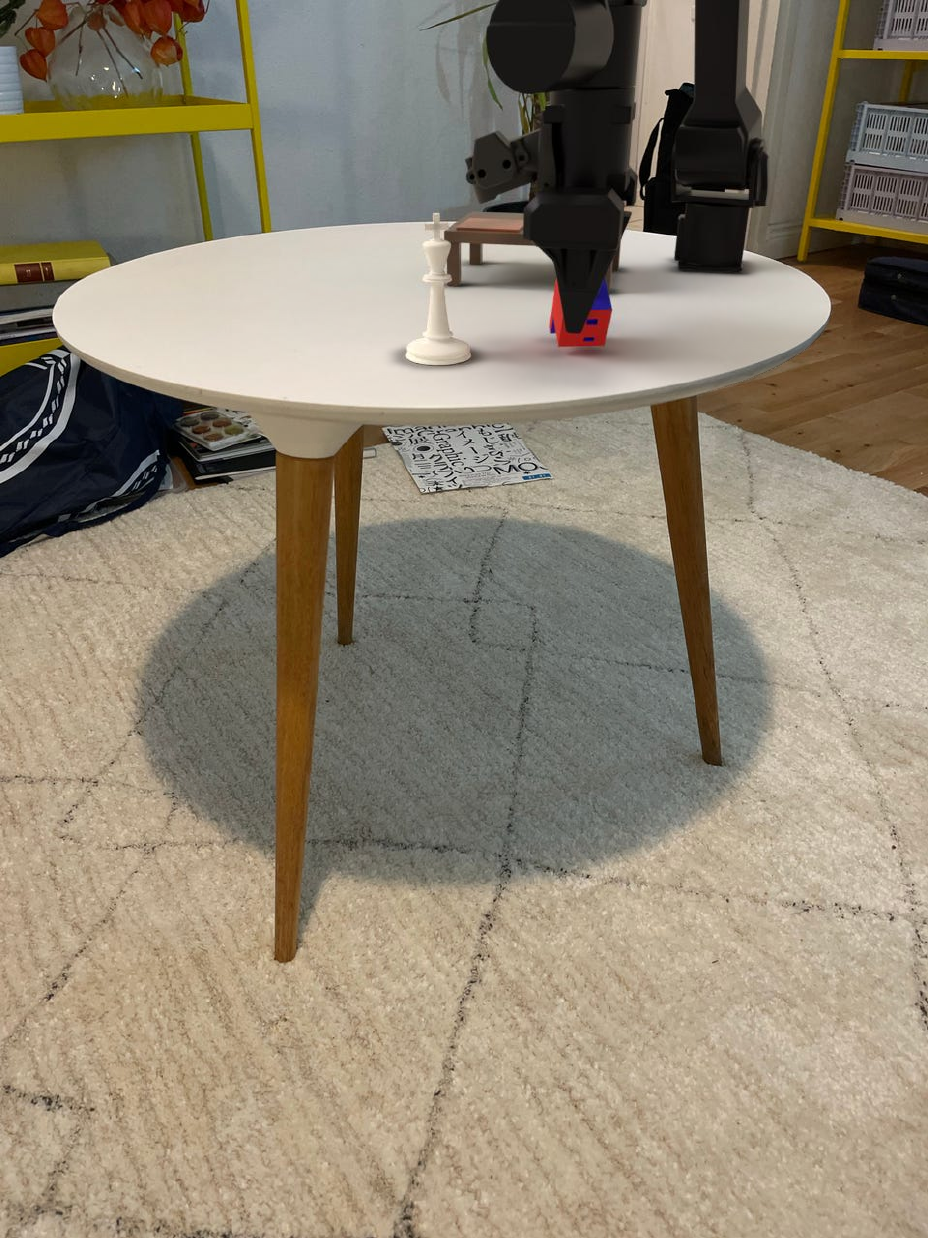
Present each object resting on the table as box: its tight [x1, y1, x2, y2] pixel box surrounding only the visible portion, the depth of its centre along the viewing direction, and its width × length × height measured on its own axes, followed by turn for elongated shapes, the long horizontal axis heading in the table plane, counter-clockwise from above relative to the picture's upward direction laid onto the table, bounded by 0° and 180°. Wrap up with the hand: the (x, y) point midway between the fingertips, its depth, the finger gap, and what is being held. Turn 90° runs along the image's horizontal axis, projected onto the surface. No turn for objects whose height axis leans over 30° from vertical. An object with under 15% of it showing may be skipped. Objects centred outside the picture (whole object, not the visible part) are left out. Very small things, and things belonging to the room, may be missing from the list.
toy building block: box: [548, 278, 613, 348], centre depth 72 cm, size 4×4×8 cm
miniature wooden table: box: [443, 211, 622, 293], centre depth 95 cm, size 16×12×5 cm
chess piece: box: [405, 212, 472, 366], centre depth 70 cm, size 5×5×10 cm
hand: (578, 321), depth 73 cm, fingers closed on toy building block, 6 cm apart
